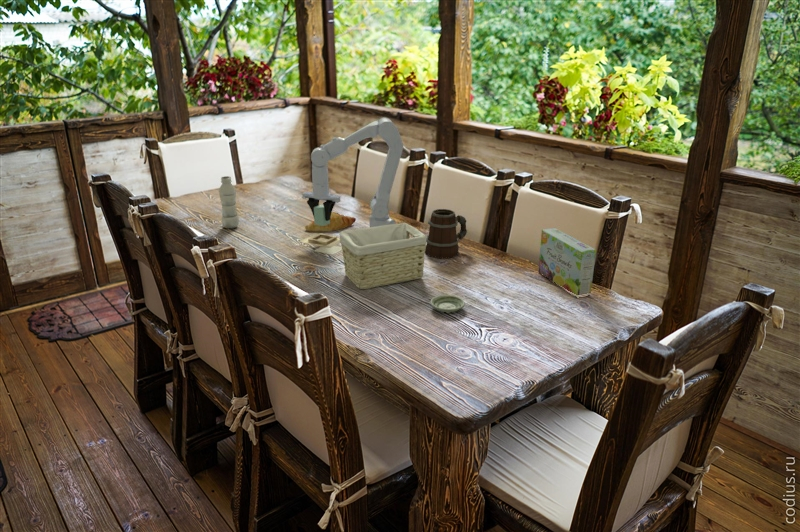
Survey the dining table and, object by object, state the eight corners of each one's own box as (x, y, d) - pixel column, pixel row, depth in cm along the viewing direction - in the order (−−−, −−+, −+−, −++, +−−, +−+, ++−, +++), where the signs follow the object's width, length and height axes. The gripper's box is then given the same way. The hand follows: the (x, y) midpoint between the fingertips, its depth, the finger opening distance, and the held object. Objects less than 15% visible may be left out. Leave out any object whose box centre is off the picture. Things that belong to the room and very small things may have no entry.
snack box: (536, 273, 196) (540, 229, 190) (551, 270, 197) (555, 227, 192) (575, 299, 177) (582, 251, 171) (591, 296, 179) (598, 248, 173)
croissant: (308, 243, 231) (311, 228, 225) (299, 225, 236) (301, 210, 230) (358, 233, 240) (362, 219, 235) (348, 216, 246) (351, 202, 240)
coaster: (345, 249, 214) (345, 247, 214) (332, 256, 208) (332, 254, 208) (327, 245, 218) (326, 243, 218) (313, 252, 211) (313, 250, 211)
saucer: (443, 299, 177) (444, 291, 176) (471, 309, 171) (471, 301, 170) (423, 309, 170) (423, 302, 169) (450, 320, 164) (451, 312, 163)
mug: (436, 261, 205) (437, 218, 199) (419, 250, 214) (420, 209, 209) (474, 253, 211) (477, 212, 206) (456, 243, 221) (458, 204, 216)
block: (330, 223, 220) (329, 205, 217) (323, 226, 216) (322, 208, 214) (321, 221, 221) (320, 204, 219) (314, 224, 218) (313, 207, 216)
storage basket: (356, 293, 180) (355, 246, 175) (338, 273, 194) (337, 230, 188) (427, 280, 189) (429, 235, 184) (405, 262, 203) (406, 221, 198)
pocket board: (347, 240, 223) (347, 236, 222) (330, 249, 214) (330, 245, 213) (316, 234, 229) (316, 230, 228) (298, 243, 220) (298, 238, 219)
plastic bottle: (242, 225, 239) (237, 175, 232) (236, 230, 233) (231, 179, 225) (226, 224, 240) (221, 175, 232) (219, 229, 233) (214, 179, 226)
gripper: (344, 182, 214) (345, 218, 219) (308, 178, 219) (310, 213, 224) (334, 186, 208) (335, 224, 213) (298, 182, 213) (300, 219, 218)
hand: (322, 219), depth 218 cm, fingers closed on block, 4 cm apart
